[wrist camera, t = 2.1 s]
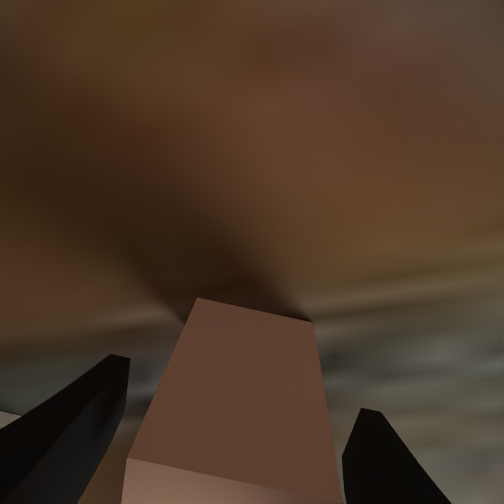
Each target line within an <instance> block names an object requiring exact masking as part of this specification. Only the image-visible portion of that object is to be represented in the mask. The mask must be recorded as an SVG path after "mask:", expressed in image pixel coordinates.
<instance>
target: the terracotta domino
mask: <svg viewBox="0 0 504 504" xmlns="http://www.w3.org/2000/svg"><path fill="white" fill-rule="evenodd" d="M121 504H343V502H342V496H341V490H340V484H339V478H338V472H337V465H336V459H335V453H334V447H333V441H332V435H331V429H330V423H329V417H328V410H327V404H326V398H325V392H324V386H323V380H322V374H321V368H320V361H319V355H318V349H317V343H316V337H315V331H314V325H313V323H312V322H308V321H303V320H299V319H294V318H289V317H285V316H280V315H276V314H271V313H267V312H262V311H257V310H253V309H248V308H244V307H239V306H234V305H230V304H225V303H221V302H216V301H212V300H207V299H202V298H198V297H197V299H196V301H195V304H194V306H193V308H192V311H191V313H190V315H189V317H188V320H187V322H186V324H185V326H184V329H183V331H182V333H181V336H180V338H179V340H178V342H177V345H176V347H175V349H174V352H173V354H172V356H171V358H170V361H169V363H168V365H167V367H166V370H165V372H164V374H163V377H162V379H161V381H160V383H159V386H158V388H157V390H156V392H155V395H154V397H153V399H152V402H151V404H150V406H149V408H148V411H147V413H146V415H145V418H144V420H143V422H142V424H141V427H140V429H139V431H138V433H137V436H136V438H135V440H134V443H133V445H132V447H131V449H130V452H129V454H128V456H127V461H126V469H125V477H124V485H123V493H122V501H121Z"/></svg>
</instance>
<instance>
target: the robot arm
mask: <svg viewBox="0 0 504 504" xmlns="http://www.w3.org/2000/svg"><path fill="white" fill-rule="evenodd" d="M130 359H131V358H127V357H122V356H117V355H113V354H110V355H109V356H107V357H106V358H104V359H103V360H102V361H100V362H99V363H98V364H96V365H95V366H94V367H93V368H91V369H90V370H89V371H87V372H86V373H85V374H83V375H82V376H81V377H79V378H78V379H76V380H75V381H74V382H72V383H71V384H69V385H68V386H67V387H65V388H64V389H62V390H61V391H60V392H58V393H57V394H55V395H54V396H52V397H51V398H49V399H48V400H46V401H45V402H43V403H42V404H40V405H39V406H37V407H35V408H34V409H32V410H31V411H29V412H28V413H26V414H24V415H23V416H21V417H20V418H18V419H16V420H14V421H13V422H11V423H9V424H8V425H6V426H4V427H2V428H1V429H0V504H77V503H78V501H79V499H80V497H81V495H82V494H83V492H84V490H85V488H86V487H87V485H88V483H89V481H90V479H91V478H92V476H93V474H94V472H95V471H96V469H97V467H98V465H99V463H100V462H101V460H102V458H103V456H104V454H105V453H106V451H107V449H108V447H109V445H110V443H111V441H112V439H113V437H114V434H115V432H116V430H117V428H118V425H119V423H120V420H121V418H122V415H123V413H124V411H125V402H126V394H127V385H128V376H129V368H130ZM342 467H343V481H344V492H345V498H346V503H347V504H451V502H450V501H449V500H448V499H447V498H446V496H445V495H444V494H443V493H442V492H441V490H440V489H439V488H438V487H437V486H436V484H435V483H434V482H433V481H432V479H431V478H430V477H429V476H428V474H427V473H426V472H425V470H424V469H423V468H422V467H421V465H420V464H419V463H418V461H417V460H416V459H415V457H414V456H413V455H412V453H411V452H410V451H409V449H408V448H407V447H406V445H405V444H404V443H403V441H402V440H401V439H400V437H399V436H398V434H397V433H396V432H395V430H394V429H393V428H392V426H391V425H390V424H389V422H388V421H387V420H386V418H385V417H384V416H383V414H382V413H381V412H379V411H374V410H369V409H365V408H361V409H360V412H359V414H358V417H357V419H356V422H355V424H354V427H353V430H352V432H351V435H350V437H349V440H348V442H347V445H346V447H345V450H344V452H343V455H342Z"/></svg>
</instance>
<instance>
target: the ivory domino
mask: <svg viewBox="0 0 504 504" xmlns="http://www.w3.org/2000/svg"><path fill="white" fill-rule="evenodd" d="M20 417H21V416H20V415H15V414H10V413H6V412H1V411H0V429H1V428H2V427H4V426H6V425H8V424H9V423H11V422H13V421H14V420H16V419H18V418H20Z"/></svg>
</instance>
